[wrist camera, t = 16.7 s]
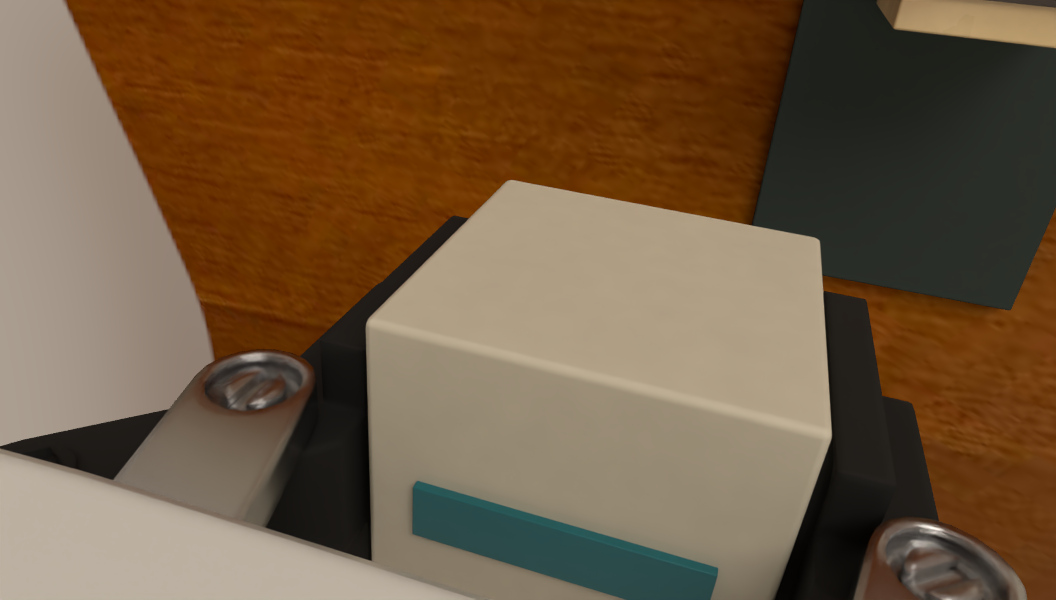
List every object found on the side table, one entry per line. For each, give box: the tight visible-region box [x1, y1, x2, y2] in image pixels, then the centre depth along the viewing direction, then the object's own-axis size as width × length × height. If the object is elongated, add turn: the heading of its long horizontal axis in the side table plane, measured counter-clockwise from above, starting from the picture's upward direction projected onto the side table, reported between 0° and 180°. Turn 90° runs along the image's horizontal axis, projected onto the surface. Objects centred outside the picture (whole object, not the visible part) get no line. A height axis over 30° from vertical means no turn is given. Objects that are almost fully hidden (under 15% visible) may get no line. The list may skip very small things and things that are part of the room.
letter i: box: [366, 180, 832, 600], centre depth 10 cm, size 4×4×4 cm
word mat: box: [752, 0, 1056, 310], centre depth 21 cm, size 14×8×1 cm, turn 176°
